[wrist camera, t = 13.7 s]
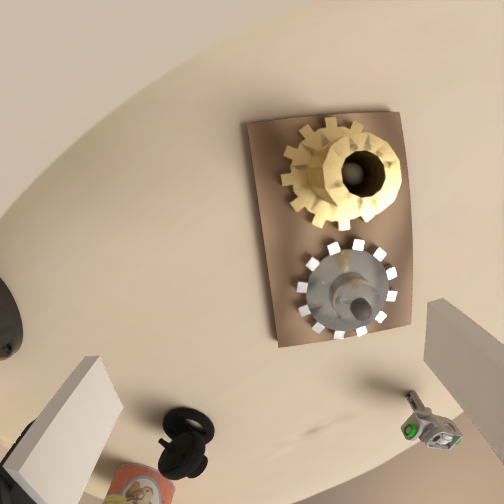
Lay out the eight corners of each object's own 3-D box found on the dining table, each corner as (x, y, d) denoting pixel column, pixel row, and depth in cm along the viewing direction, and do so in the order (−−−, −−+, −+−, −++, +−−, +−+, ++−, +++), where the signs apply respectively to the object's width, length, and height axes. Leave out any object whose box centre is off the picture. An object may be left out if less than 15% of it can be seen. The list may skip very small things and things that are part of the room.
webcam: (189, 448, 42) (177, 497, 32) (153, 419, 40) (133, 468, 31) (226, 430, 40) (219, 483, 30) (189, 398, 39) (173, 452, 29)
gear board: (277, 341, 36) (281, 384, 28) (247, 126, 31) (242, 109, 23) (406, 318, 35) (436, 352, 27) (393, 114, 30) (430, 99, 22)
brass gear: (288, 235, 32) (298, 258, 23) (272, 125, 29) (277, 105, 21) (391, 221, 31) (432, 239, 22) (378, 116, 29) (417, 99, 20)
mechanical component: (392, 378, 38) (419, 426, 28) (438, 394, 38) (466, 435, 29) (379, 394, 38) (402, 443, 28) (426, 408, 39) (452, 451, 29)
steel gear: (300, 340, 35) (306, 364, 30) (290, 245, 32) (295, 258, 27) (392, 324, 34) (408, 345, 29) (391, 231, 31) (411, 241, 27)
